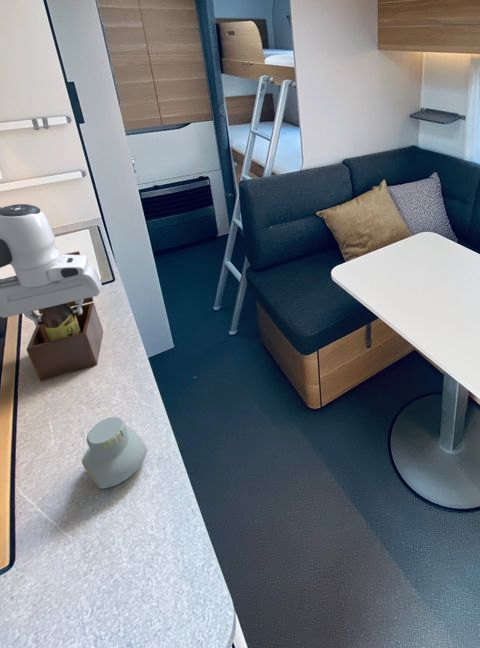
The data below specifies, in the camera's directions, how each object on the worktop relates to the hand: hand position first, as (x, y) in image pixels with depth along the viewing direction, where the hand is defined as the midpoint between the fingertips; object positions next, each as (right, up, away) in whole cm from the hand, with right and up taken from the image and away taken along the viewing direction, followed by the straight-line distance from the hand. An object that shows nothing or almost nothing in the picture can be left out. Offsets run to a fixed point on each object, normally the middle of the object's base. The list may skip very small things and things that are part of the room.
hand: (60, 318), depth 100 cm
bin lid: (-4, +8, +4) cm, 10 cm away
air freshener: (+29, -22, -22) cm, 42 cm away
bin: (0, -11, +5) cm, 12 cm away
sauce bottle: (0, -10, +4) cm, 11 cm away
